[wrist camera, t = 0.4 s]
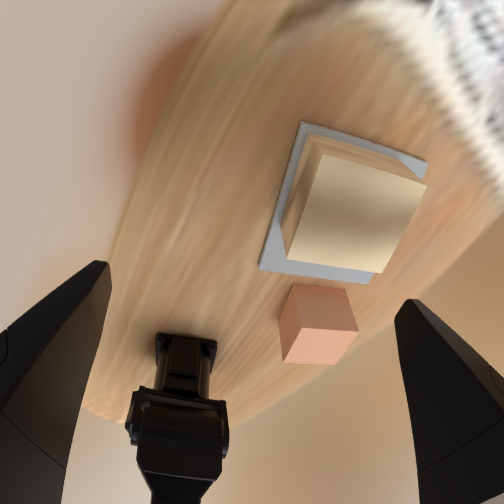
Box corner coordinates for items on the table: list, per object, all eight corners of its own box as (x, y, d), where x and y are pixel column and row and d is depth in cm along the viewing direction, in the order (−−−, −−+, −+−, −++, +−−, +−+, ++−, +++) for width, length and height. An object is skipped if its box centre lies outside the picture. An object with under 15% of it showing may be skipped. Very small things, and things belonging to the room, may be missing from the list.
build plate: (365, 280, 27) (367, 284, 27) (258, 264, 26) (258, 269, 25) (425, 160, 20) (428, 163, 20) (300, 120, 19) (302, 123, 18)
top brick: (325, 323, 31) (334, 364, 27) (278, 319, 30) (283, 362, 26) (344, 289, 28) (358, 331, 24) (293, 282, 27) (301, 327, 23)
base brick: (364, 239, 24) (381, 273, 21) (279, 223, 23) (286, 259, 19) (400, 160, 20) (427, 185, 16) (307, 132, 18) (322, 154, 15)
